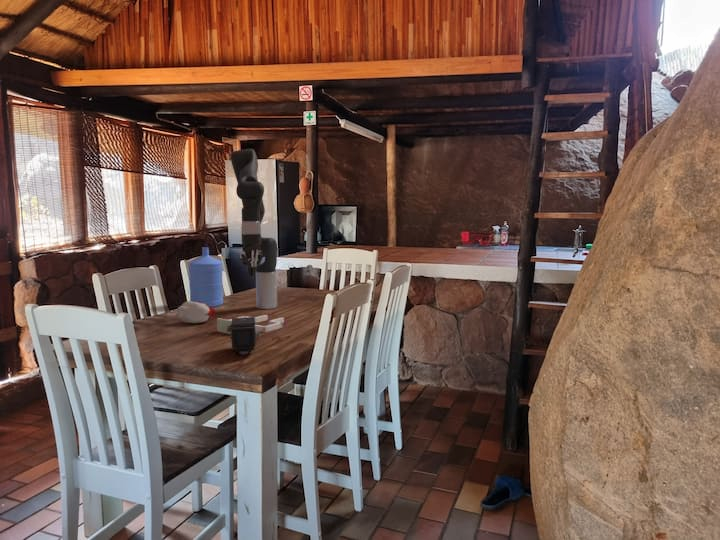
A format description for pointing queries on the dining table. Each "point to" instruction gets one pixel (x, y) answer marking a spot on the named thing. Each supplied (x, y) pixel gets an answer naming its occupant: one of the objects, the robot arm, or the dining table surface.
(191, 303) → the white and red lump
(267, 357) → the dining table surface
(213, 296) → the water jug
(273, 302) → the robot arm
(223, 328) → the box
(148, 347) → the dining table surface
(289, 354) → the dining table surface
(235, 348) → the camera
